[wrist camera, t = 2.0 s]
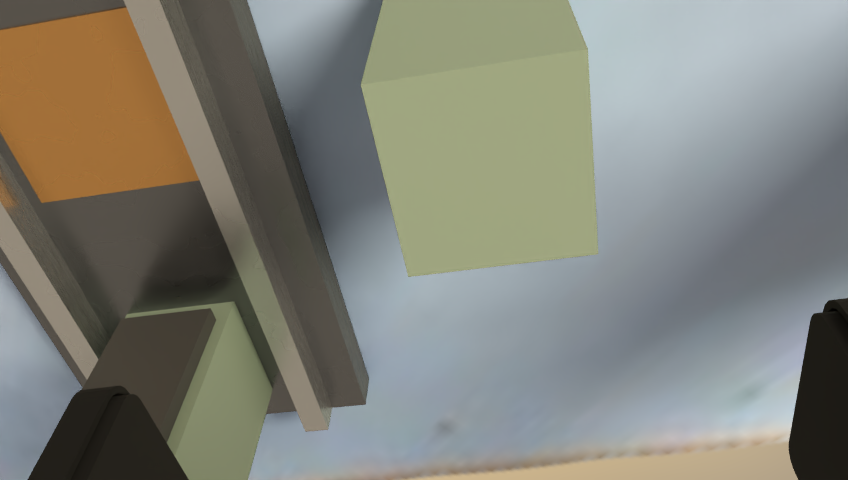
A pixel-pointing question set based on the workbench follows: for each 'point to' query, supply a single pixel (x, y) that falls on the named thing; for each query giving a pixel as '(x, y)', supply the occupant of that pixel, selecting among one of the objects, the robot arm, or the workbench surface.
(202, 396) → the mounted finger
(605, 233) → the workbench surface
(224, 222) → the dark grey tray
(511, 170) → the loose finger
